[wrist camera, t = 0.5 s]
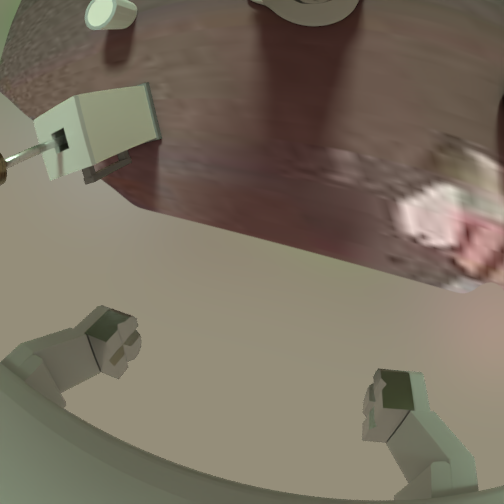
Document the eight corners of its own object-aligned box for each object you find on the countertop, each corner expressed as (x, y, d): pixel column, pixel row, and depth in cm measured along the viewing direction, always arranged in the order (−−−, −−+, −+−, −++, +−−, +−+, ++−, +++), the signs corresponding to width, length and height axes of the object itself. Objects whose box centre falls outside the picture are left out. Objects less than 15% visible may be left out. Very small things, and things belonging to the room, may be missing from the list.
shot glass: (124, -7, 34) (100, -13, 29) (147, 8, 36) (123, 1, 30) (103, 22, 38) (78, 20, 32) (124, 38, 39) (99, 36, 34)
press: (103, 100, 46) (31, 118, 31) (148, 82, 43) (75, 91, 28) (120, 162, 52) (54, 197, 37) (165, 150, 49) (100, 184, 34)
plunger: (68, 116, 37) (-39, 156, 20) (100, 100, 35) (-19, 136, 18) (80, 158, 40) (-22, 213, 24) (112, 146, 38) (0, 202, 22)
